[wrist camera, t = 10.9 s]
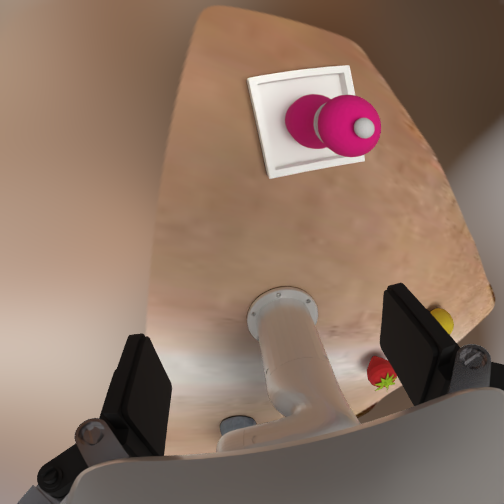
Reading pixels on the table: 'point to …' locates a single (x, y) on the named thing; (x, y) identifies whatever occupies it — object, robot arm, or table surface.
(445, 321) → the lemon
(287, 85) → the tray
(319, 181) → the table surface
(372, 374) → the strawberry
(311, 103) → the pepper mill
